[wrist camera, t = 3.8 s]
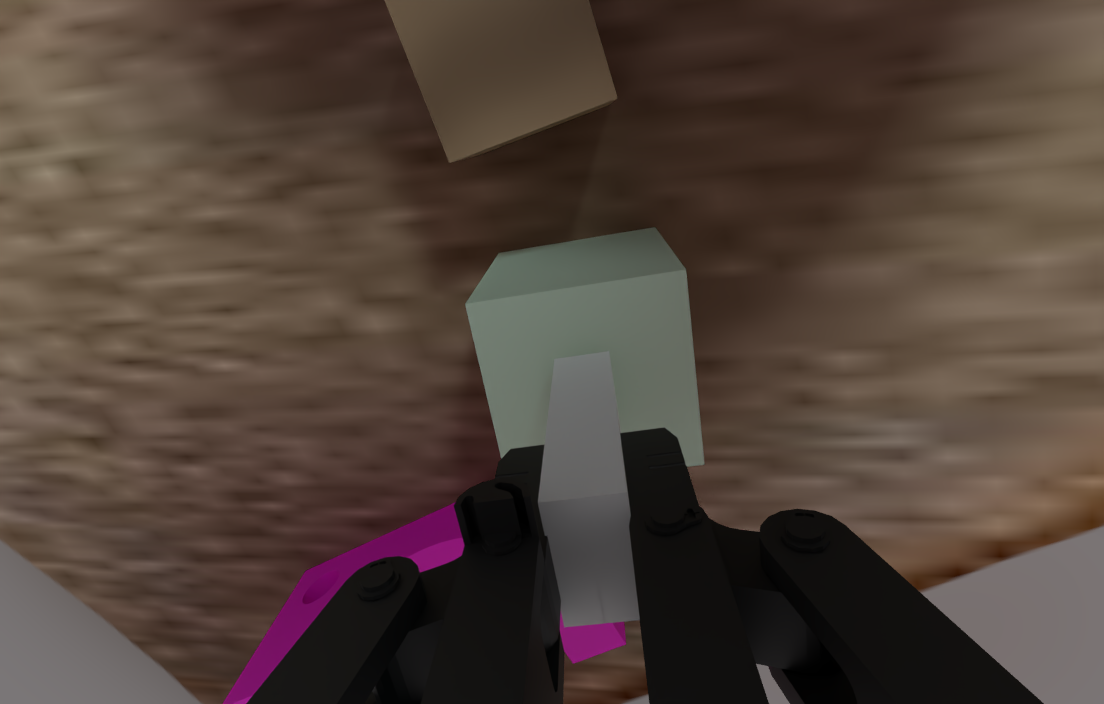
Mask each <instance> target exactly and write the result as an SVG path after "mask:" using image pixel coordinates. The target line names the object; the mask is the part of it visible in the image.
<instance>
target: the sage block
mask: <svg viewBox="0 0 1104 704" xmlns="http://www.w3.org/2000/svg"><path fill="white" fill-rule="evenodd" d="M465 306H466V310H467V315H468V319H469V323H470V327H471V332H472V336H473V340H474V344H475V349H476V353H477V357H478V361H479V366H480V370H481V374H482V378H483V383H484V387H485V391H486V395H487V400H488V404H489V408H490V412H491V417H492V421H493V425H494V430H495V434H496V438H497V442H498V447H499V451H500V455H501V459H502V458H503V457H504V455H505V454H506V453H507V452H508V451H509V450H510V449H513V448H521V447H529V446H536V445H544V444H545V436H546V427H547V419H548V410H549V402H550V393H551V384H552V376H553V367H554V359H558V358H565V357H572V356H579V355H586V354H592V353H599V352H606V351H609V354H610V360H611V367H612V374H613V381H614V388H615V394H616V401H617V408H618V415H619V421H620V428H621V433H625V432H632V431H640V430H648V429H656V428H664V427H665V428H666V429H667V430H668V431H670V432H671V433H672V434H674V435H675V436H676V437H677V438H678V441H679V444H680V447H681V450H682V454H683V457H684V460H685V464H686V466H687V467H689V466H698V465H704V454H703V443H702V433H701V422H700V411H699V401H698V390H697V380H696V369H695V358H694V348H693V337H692V327H691V316H690V305H689V295H688V284H687V274H686V269H685V267H684V266H683V264H682V263H681V262H680V260H679V259H678V258H677V256H676V255H675V254H674V252H673V251H672V249H671V248H670V247H669V245H668V244H667V243H666V241H665V240H664V238H663V237H662V236H661V234H660V233H659V232H658V230H657V229H656V228H655V227H653V228H647V229H641V230H635V231H629V232H622V233H616V234H610V235H604V236H598V237H592V238H586V239H580V240H574V241H568V242H562V243H556V244H550V245H544V246H538V247H532V248H526V249H520V250H514V251H508V252H502V253H498V255H497V257H496V258H495V260H494V261H493V263H492V264H491V266H490V267H489V269H488V270H487V272H486V273H485V275H484V276H483V278H482V279H481V281H480V282H479V284H478V285H477V287H476V288H475V290H474V291H473V293H472V294H471V296H470V297H469V299H468V300H467V302H466V303H465Z"/></svg>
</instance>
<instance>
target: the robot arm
mask: <svg viewBox="0 0 1104 704" xmlns="http://www.w3.org/2000/svg"><path fill="white" fill-rule="evenodd" d="M454 509H455V512H456V516H457V520H458V523H459V527H460V531H461V534H462V538H463V542H464V549H463V552H462V555H461V556H460V557H458V558H457V559H455V560H453V561H451V562H448V563H446V564H443V565H441V566H438V567H435V568H432V569H429V570H426V571H423V572H420V571H419V568H418V565H417V564H416V563H415V562H414V561H413V560H412V559H410V558H406V557H402V556H393V557H385V558H382V559H379V560H376V561H373V562H370V563H369V564H367V565H365V566H363V567H362V568H360V569H358V570H357V571H356V572H355V573H354V574H353V575H351V576H350V577H349V578H348V579H347V580H346V581H345V582H344V584H343V585H342V586H341V587H340V589H339V590H338V591H337V592H336V594H335V595H334V596H333V597H332V598H331V600H330V601H329V602H328V603H327V605H326V606H325V607H324V608H323V610H322V611H321V612H320V613H319V614H318V616H317V617H316V618H315V619H314V621H313V622H312V623H311V624H310V626H309V627H308V628H307V629H306V630H305V632H304V633H303V634H302V635H301V637H300V638H299V639H298V640H297V642H296V643H295V644H294V645H293V647H292V648H291V649H290V650H289V651H288V653H287V654H286V655H285V656H284V658H283V659H282V660H281V661H280V663H279V664H278V665H277V666H276V667H275V669H274V670H273V671H272V672H271V674H270V675H269V676H268V677H267V679H266V680H265V681H264V682H263V683H262V685H261V686H260V687H259V688H258V690H257V691H256V692H255V693H254V695H253V696H252V697H251V698H250V699H249V701H248V702H247V703H246V704H563V684H564V648H563V643H562V638H561V634H560V611H561V614H562V619H563V623H564V627H573V626H583V625H594V624H604V623H615V622H625V621H636V620H640V626H641V634H642V643H643V652H644V660H645V669H646V677H647V686H648V694H649V703H650V704H769V703H768V700H767V697H766V693H765V690H764V687H763V684H762V681H761V678H760V675H759V672H758V669H757V666H756V664H761V665H766V666H768V667H769V669H770V672H771V675H772V677H773V678H774V679H775V681H776V682H777V684H778V686H779V687H780V689H781V690H782V692H783V693H784V695H785V697H786V698H787V700H788V701H789V703H790V704H1044V703H1042V702H1041V701H1040V700H1039V699H1038V698H1037V697H1036V696H1034V694H1032V693H1031V692H1030V691H1029V690H1028V689H1027V688H1026V687H1025V686H1023V685H1022V684H1021V683H1020V682H1019V681H1018V680H1017V679H1016V678H1015V677H1013V676H1012V675H1011V674H1010V673H1009V672H1008V671H1007V670H1006V669H1005V668H1003V667H1002V666H1001V665H1000V664H999V663H998V662H997V661H996V660H995V659H993V658H992V657H991V656H990V655H989V654H988V653H987V652H985V650H983V649H982V648H981V647H980V646H979V645H978V644H977V643H976V642H975V641H973V640H972V639H971V638H970V637H969V636H968V635H967V634H966V633H965V632H963V631H962V630H961V629H960V628H959V627H958V626H957V625H956V624H955V623H953V622H952V621H951V620H950V619H949V618H948V617H947V616H945V615H944V614H943V613H942V612H941V611H940V610H939V609H938V608H937V607H936V606H934V605H933V604H932V603H931V602H930V601H929V600H928V599H927V598H925V597H924V596H923V595H922V594H921V593H920V592H919V591H918V590H917V589H916V588H914V587H913V586H912V585H911V584H910V583H909V582H908V581H907V580H906V579H904V578H903V577H902V576H901V575H900V574H899V573H898V572H897V571H896V570H894V569H893V568H892V567H891V566H890V565H889V564H888V563H887V562H886V561H884V560H883V559H882V558H881V557H880V556H879V555H878V554H877V553H876V552H874V551H873V550H872V549H871V548H870V547H869V546H868V545H867V544H865V543H864V542H863V541H862V540H861V539H860V538H859V537H858V536H857V535H855V534H854V533H853V532H852V531H851V530H850V529H849V528H848V527H847V526H845V525H844V524H843V523H841V522H840V521H838V520H837V519H835V518H833V517H832V516H830V515H826V514H823V513H820V512H817V511H813V510H803V509H793V510H786V511H780V512H778V513H776V514H774V515H772V516H769V517H768V518H767V519H766V520H765V521H764V522H763V524H762V525H761V527H760V532H755V531H746V530H739V529H734V528H729V527H726V526H723V525H720V524H718V523H716V522H714V521H713V520H711V519H709V518H708V516H707V515H706V513H705V512H704V510H703V509H702V508H701V507H699V504H698V501H697V498H696V495H695V492H694V488H693V485H692V482H691V479H690V476H689V473H688V469H687V466H686V464H685V460H684V457H683V454H682V450H681V447H680V444H679V441H678V438H677V437H676V436H675V435H674V434H672V433H671V432H670V431H668V430H667V429H666V428H665V427H664V428H656V429H648V430H640V431H632V432H625V433H621V428H620V421H619V415H618V408H617V401H616V394H615V388H614V381H613V374H612V367H611V360H610V354H609V351H606V352H599V353H592V354H586V355H579V356H572V357H565V358H558V359H554V367H553V376H552V384H551V393H550V402H549V410H548V419H547V427H546V436H545V444H544V445H536V446H529V447H521V448H513V449H510V450H509V451H508V452H507V453H506V454H505V455H504V457H503V458H502V459H501V460H500V461H499V463H498V467H497V471H496V475H495V479H494V480H490V481H486V482H482V483H480V484H478V485H476V486H473V487H471V488H469V489H468V490H467V491H466V492H464V493H463V494H462V495H460V496H459V498H458V499H457V501H456V503H455V504H454Z"/></svg>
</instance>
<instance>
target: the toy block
mask: <svg viewBox="0 0 1104 704" xmlns="http://www.w3.org/2000/svg"><path fill="white" fill-rule="evenodd" d="M455 503H456V502H455ZM455 503H453V504H451V505H448V506H446V507H444V508H442V509H440V510H437V511H435V512H433V513H431V514H429V515H427V516H424V517H422V518H420V519H418V520H416V521H413V522H411V523H409V524H407V525H405V526H403V527H400V528H398V529H396V530H394V531H392V532H389V533H387V534H385V535H383V536H381V537H379V538H376V539H374V540H372V541H370V542H368V543H365V544H363V545H361V546H359V547H357V548H354V549H352V550H350V551H348V552H346V553H344V554H341V555H339V556H337V557H335V558H333V559H330V560H328V561H326V562H324V563H322V564H320V565H317V566H315V567H313V568H311V569H309V570H306V571H305V573H304V574H303V576H302V577H301V579H300V581H299V582H298V584H297V585H296V587H295V589H294V590H293V592H292V593H291V595H290V597H289V598H288V600H287V601H286V603H285V605H284V606H283V608H282V609H281V611H280V613H279V614H278V616H277V617H276V619H275V621H274V622H273V624H272V625H271V627H270V629H269V630H268V632H267V633H266V635H265V637H264V638H263V640H262V641H261V643H260V645H259V646H258V648H257V649H256V651H255V653H254V654H253V656H252V657H251V659H250V660H249V662H248V664H247V665H246V667H245V668H244V670H243V672H242V673H241V675H240V676H239V678H238V680H237V681H236V683H235V684H234V686H233V688H232V689H231V691H230V692H229V694H228V696H227V697H226V699H225V700H224V702H223V704H246V703H247V702H248V701H249V699H250V698H251V697H252V696H253V695H254V693H255V692H256V691H257V690H258V688H259V687H260V686H261V685H262V683H263V682H264V681H265V680H266V679H267V677H268V676H269V675H270V674H271V672H272V671H273V670H274V669H275V667H276V666H277V665H278V664H279V663H280V661H281V660H282V659H283V658H284V656H285V655H286V654H287V653H288V651H289V650H290V649H291V648H292V647H293V645H294V644H295V643H296V642H297V640H298V639H299V638H300V637H301V635H302V634H303V633H304V632H305V630H306V629H307V628H308V627H309V626H310V624H311V623H312V622H313V621H314V619H315V618H316V617H317V616H318V614H319V613H320V612H321V611H322V610H323V608H324V607H325V606H326V605H327V603H328V602H329V601H330V600H331V598H332V597H333V596H334V595H335V594H336V592H337V591H338V590H339V589H340V587H341V586H342V585H343V584H344V582H345V581H346V580H347V579H348V578H349V577H350V576H351V575H353V574H354V573H355V572H356V571H357V570H358V569H360V568H362V567H363V566H365V565H367V564H369V563H370V562H373V561H376V560H379V559H382V558H385V557H393V556H402V557H406V558H410V559H412V560H413V561H414V562H415V563H416V564H417V565H418V568H419V571H420V572H423V571H426V570H429V569H432V568H435V567H438V566H441V565H443V564H446V563H448V562H451V561H453V560H455V559H457V558H458V557H460V556H461V555H462V552H463V549H464V542H463V538H462V534H461V531H460V527H459V523H458V520H457V516H456V512H455V509H454V504H455ZM560 634H561V638H562V643H563V648H564V651H565V653H566V654H567V656H568V657H569V658H570V660H571V661H572V663H573V664H574V663H577V662H579V661H582V660H585V659H587V658H590V657H593V656H596V655H598V654H601V653H604V652H607V651H609V650H612V649H615V648H617V647H620V646H623V645H626V637H625V625H624V622H615V623H604V624H594V625H583V626H573V627H564V623H563V619H562V614H561V611H560Z"/></svg>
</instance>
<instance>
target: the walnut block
mask: <svg viewBox="0 0 1104 704" xmlns="http://www.w3.org/2000/svg"><path fill="white" fill-rule="evenodd" d="M384 1H385V3H386V6H387V8H388V11H389V13H390V16H391V18H392V21H393V23H394V26H395V28H396V31H397V33H398V36H399V38H400V41H401V43H402V46H403V48H404V51H405V53H406V56H407V58H408V61H409V63H410V66H411V68H412V71H413V73H414V76H415V78H416V81H417V83H418V86H419V88H420V91H421V93H422V96H423V98H424V101H425V103H426V106H427V108H428V111H429V113H430V116H431V118H432V121H433V123H434V126H435V128H436V131H437V133H438V136H439V138H440V141H441V143H442V146H443V148H444V151H445V153H446V156H447V158H448V161H449V163H452V162H456V161H460V160H463V159H467V158H471V157H475V156H478V155H481V154H484V153H486V152H489V151H491V150H494V149H497V148H499V147H502V146H504V145H507V144H510V143H512V142H515V141H517V140H520V139H523V138H525V137H528V136H530V135H533V134H535V133H538V132H541V131H543V130H546V129H548V128H551V127H554V126H556V125H559V124H561V123H564V122H567V121H569V120H572V119H574V118H577V117H580V116H582V115H585V114H587V113H590V112H592V111H595V110H598V109H600V108H603V107H605V106H608V105H610V104H611V103H612V102H614V101H615V100H616V99H617V98H618V97H617V94H616V91H615V87H614V84H613V81H612V77H611V74H610V70H609V67H608V64H607V60H606V57H605V53H604V50H603V47H602V43H601V40H600V36H599V33H598V30H597V26H596V23H595V19H594V16H593V13H592V9H591V6H590V2H589V0H384Z"/></svg>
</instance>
